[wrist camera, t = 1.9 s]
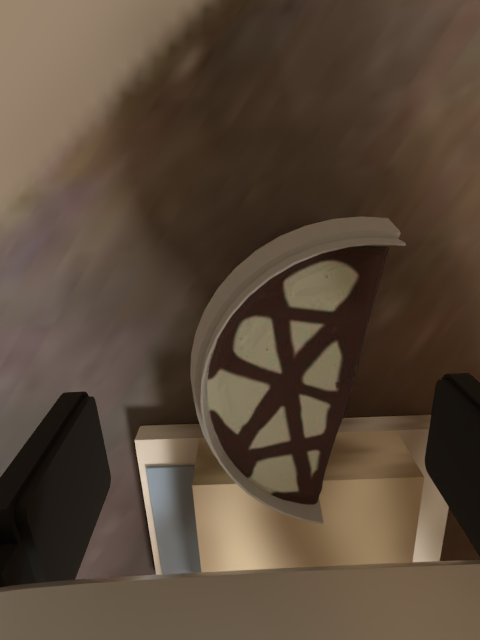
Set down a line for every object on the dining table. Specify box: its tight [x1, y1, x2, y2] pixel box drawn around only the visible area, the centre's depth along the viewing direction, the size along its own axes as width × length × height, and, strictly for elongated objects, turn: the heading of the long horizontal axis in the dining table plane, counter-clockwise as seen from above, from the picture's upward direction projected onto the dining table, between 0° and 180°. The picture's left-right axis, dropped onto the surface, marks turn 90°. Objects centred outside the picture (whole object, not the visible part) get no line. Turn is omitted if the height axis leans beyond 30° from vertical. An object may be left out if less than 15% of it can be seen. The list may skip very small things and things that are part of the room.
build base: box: [135, 415, 449, 575], centre depth 26 cm, size 20×14×6 cm
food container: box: [190, 216, 406, 524], centre depth 19 cm, size 12×6×10 cm, turn 171°
